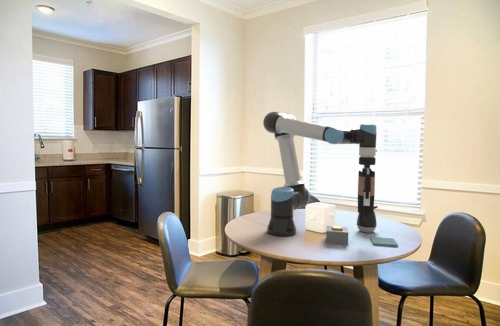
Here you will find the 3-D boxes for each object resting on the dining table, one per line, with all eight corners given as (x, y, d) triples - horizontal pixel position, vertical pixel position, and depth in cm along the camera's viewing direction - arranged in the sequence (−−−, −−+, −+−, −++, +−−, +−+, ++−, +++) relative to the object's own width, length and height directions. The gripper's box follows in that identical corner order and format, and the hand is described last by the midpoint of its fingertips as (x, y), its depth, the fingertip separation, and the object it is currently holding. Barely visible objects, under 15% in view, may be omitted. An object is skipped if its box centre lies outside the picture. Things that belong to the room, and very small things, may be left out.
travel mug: (371, 214, 162) (373, 172, 161) (355, 213, 166) (356, 171, 165) (375, 212, 168) (376, 171, 167) (359, 210, 172) (360, 170, 171)
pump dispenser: (378, 234, 181) (379, 206, 180) (357, 233, 183) (358, 205, 182) (375, 229, 191) (376, 202, 190) (355, 228, 193) (356, 201, 192)
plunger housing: (326, 243, 164) (326, 230, 164) (326, 237, 174) (326, 225, 174) (348, 245, 162) (348, 232, 162) (346, 239, 172) (347, 227, 171)
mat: (373, 245, 163) (373, 243, 163) (370, 238, 174) (370, 236, 174) (398, 247, 161) (398, 245, 160) (393, 240, 171) (393, 238, 171)
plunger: (332, 240, 167) (333, 227, 166) (332, 237, 170) (332, 225, 170) (341, 240, 166) (341, 228, 165) (340, 238, 170) (341, 226, 169)
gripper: (378, 157, 155) (376, 208, 156) (373, 155, 174) (371, 200, 176) (360, 157, 156) (359, 207, 158) (357, 155, 176) (356, 200, 178)
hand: (365, 203), depth 167 cm, fingers closed on travel mug, 8 cm apart
